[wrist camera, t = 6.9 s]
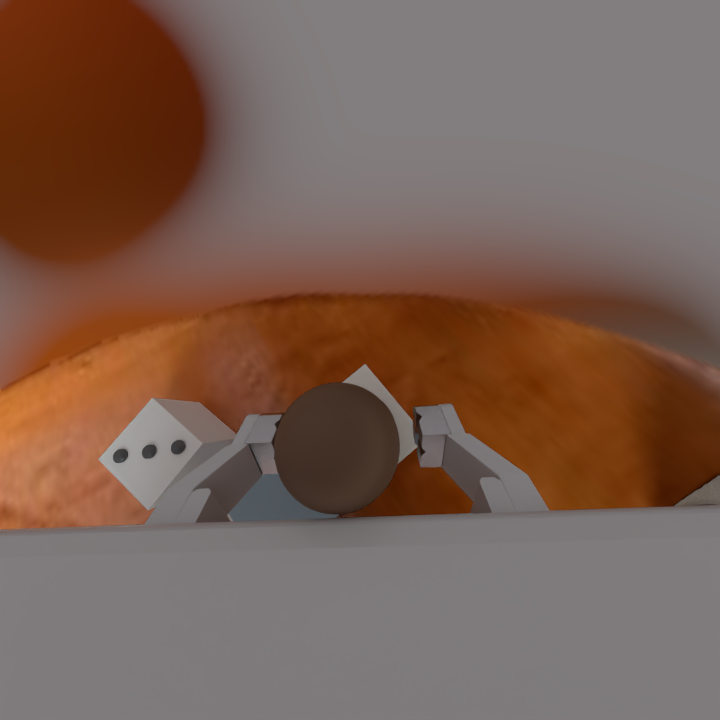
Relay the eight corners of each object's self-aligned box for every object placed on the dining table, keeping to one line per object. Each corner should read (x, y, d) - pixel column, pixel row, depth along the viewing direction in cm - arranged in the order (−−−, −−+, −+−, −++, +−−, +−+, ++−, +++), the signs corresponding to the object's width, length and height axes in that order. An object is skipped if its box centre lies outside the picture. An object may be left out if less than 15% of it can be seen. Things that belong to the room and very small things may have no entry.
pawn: (408, 436, 16) (476, 469, 5) (352, 484, 15) (304, 623, 5) (363, 380, 17) (345, 315, 6) (309, 424, 16) (191, 434, 6)
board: (424, 437, 17) (427, 438, 16) (96, 720, 14) (76, 742, 13) (365, 367, 18) (365, 363, 17) (55, 615, 15) (34, 629, 14)
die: (241, 437, 17) (201, 443, 13) (200, 489, 17) (145, 511, 13) (200, 402, 18) (150, 397, 14) (160, 450, 17) (95, 459, 13)
